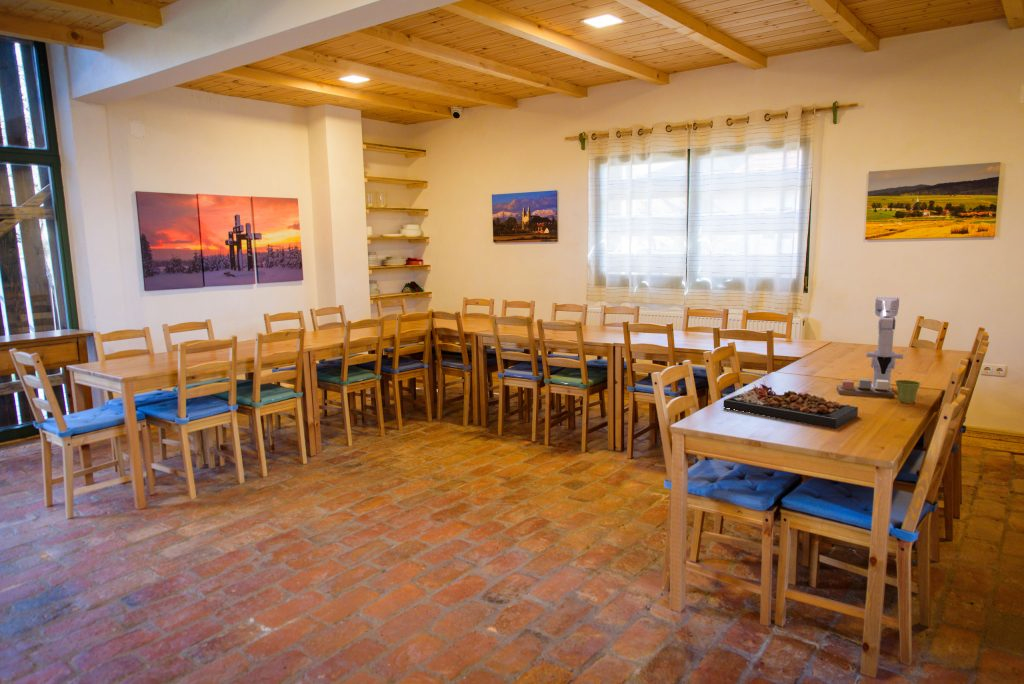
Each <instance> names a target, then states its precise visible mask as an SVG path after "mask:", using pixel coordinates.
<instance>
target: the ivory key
mask: <svg viewBox="0 0 1024 684" xmlns="http://www.w3.org/2000/svg"><path fill="white" fill-rule="evenodd" d="M876 388H877V389H886V390H889V381H888V380H877V379H876Z"/></svg>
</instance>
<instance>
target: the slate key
mask: <svg viewBox="0 0 1024 684" xmlns="http://www.w3.org/2000/svg"><path fill="white" fill-rule="evenodd" d="M872 383H873V380H871V378H858V387H859V388H870V389H871V387H872V386H871V384H872Z"/></svg>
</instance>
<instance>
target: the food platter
mask: <svg viewBox="0 0 1024 684" xmlns="http://www.w3.org/2000/svg"><path fill="white" fill-rule="evenodd" d="M762 381H763V383H759V386H756V384H755V383H753V385H754V386H752V387H753V388H752V389H749V390H747V391H743V392H742V393H739V394H737V395H734V396H731V397H728V398H726V399H723V407H725V408H730V409H735V410H738V411H737V412H739V411H744V412H743V413H745V412H750V413H754V414H753V415H756V414H759V415H758V416H761V415H765V416H764V417H767V416H770V417H769V418H772V417H775V418H774V419H778V418H780V419H779V420H783V419H785V420H784V421H789V420H790V422H794V421H795V422H796V423H799V422H800V423H801V424H805V423H806V425H810V424H811V426H816V427H821V426H822V428H827V427H828V428H829V429H832V428H833V430H837V429H838V428H840V427H841V426H843V425H846V424H847V423H849V422H850V421H852V420H854V419H856V418H857V417H858V416H859V415H858V414H859V407H858V406H854V405H850V404H841V403H839V402H837V401H832V400H828V401H827V400H826V399H825V398H824V397H822V396H821V397H820V396H817V395H811V394H809V393H806V392H805V393H803V392H796V391H792V390H788V391H787V392H786V391H784V392H783V394H777V393H776V391H774V390H773V388H772V386H770V387H769V386H767V385H766V384H765V380H762ZM750 413H749V414H750ZM855 417H856V418H855ZM848 421H849V422H848Z"/></svg>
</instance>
